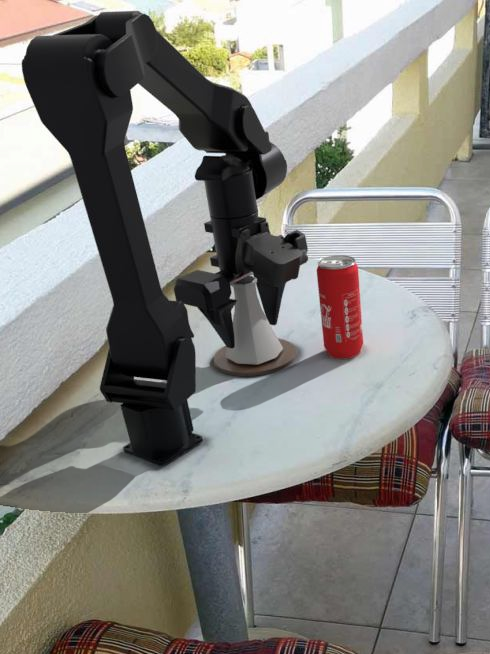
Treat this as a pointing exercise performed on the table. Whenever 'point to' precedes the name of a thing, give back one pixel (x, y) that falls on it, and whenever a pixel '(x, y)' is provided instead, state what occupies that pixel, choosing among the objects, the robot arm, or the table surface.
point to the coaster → (266, 367)
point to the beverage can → (340, 306)
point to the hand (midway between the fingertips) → (252, 335)
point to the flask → (251, 327)
